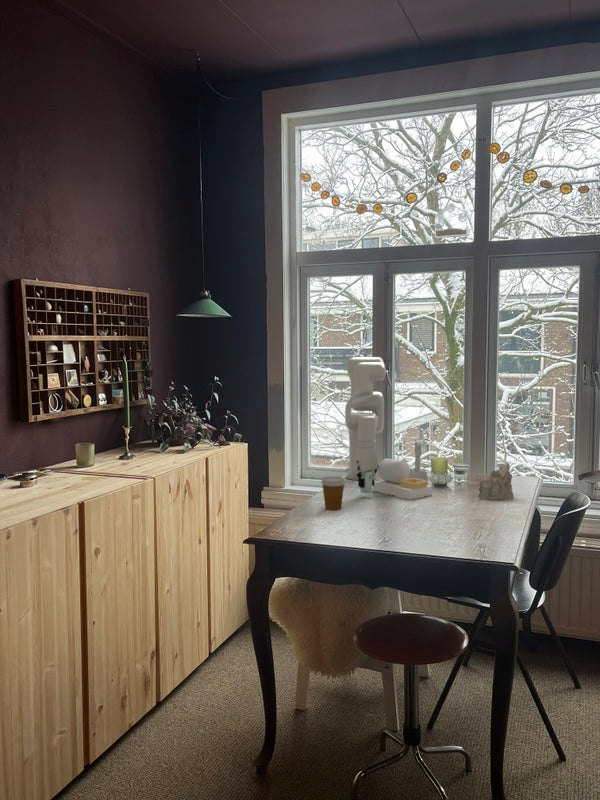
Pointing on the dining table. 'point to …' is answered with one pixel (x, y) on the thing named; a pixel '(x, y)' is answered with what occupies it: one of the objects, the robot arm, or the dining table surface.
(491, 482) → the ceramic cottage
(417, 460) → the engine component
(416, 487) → the motor plinth
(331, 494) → the disposable coffee cup
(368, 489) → the drain pump
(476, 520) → the dining table surface
